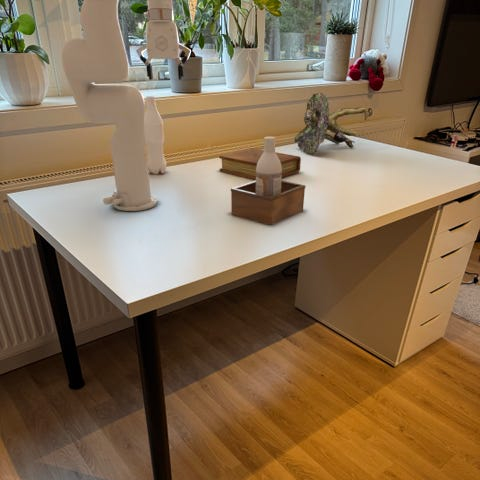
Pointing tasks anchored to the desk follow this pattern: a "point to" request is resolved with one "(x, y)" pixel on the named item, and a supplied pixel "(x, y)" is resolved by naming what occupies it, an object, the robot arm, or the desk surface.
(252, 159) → the diary
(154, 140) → the water bottle
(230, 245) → the desk surface
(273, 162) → the bath foam
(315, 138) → the tree stump
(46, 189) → the desk surface
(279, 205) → the open wooden box
